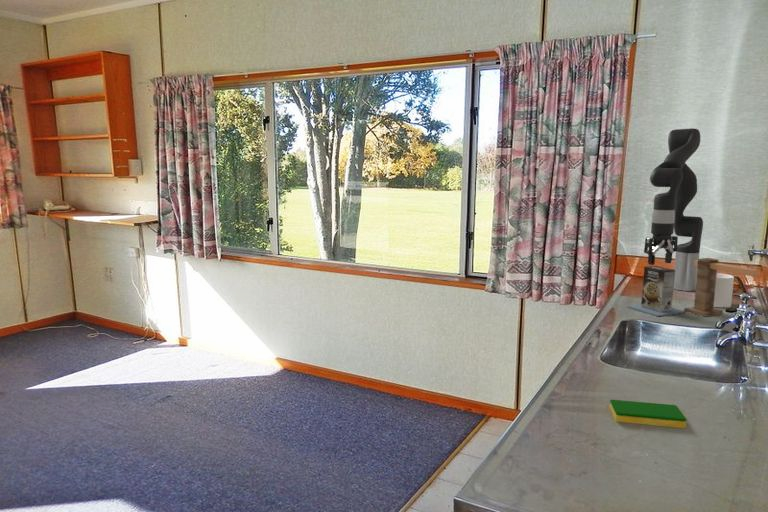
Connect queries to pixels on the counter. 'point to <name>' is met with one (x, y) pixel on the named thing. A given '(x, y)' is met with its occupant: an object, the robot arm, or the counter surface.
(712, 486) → the counter surface
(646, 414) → the dish sponge
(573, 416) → the counter surface
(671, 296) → the coffee box
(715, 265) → the bar
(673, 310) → the rubber mat
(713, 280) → the guide stand
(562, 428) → the counter surface
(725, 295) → the cup
